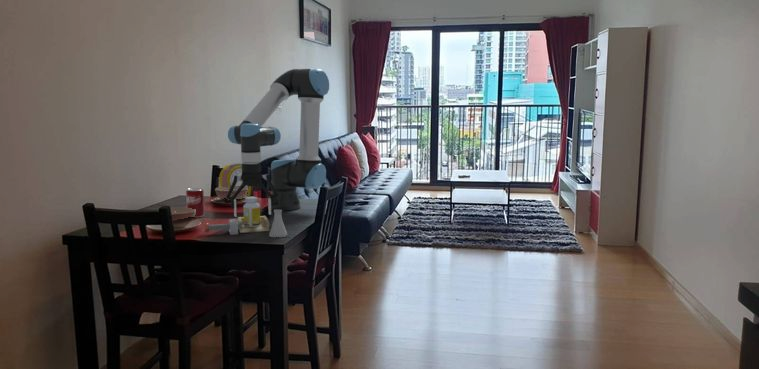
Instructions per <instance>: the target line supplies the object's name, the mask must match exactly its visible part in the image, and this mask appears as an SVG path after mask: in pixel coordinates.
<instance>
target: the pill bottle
mask: <svg viewBox="0 0 759 369" xmlns="http://www.w3.org/2000/svg"><path fill="white" fill-rule="evenodd" d="M244 201H245V204H243V206H242V207H243V208H242V210H243V217H244V226H246V227H257V226H260V216H261V204H260V203H259V202H258V197H257V196H250V197H246V198H245V199H244Z"/></svg>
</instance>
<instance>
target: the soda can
mask: <svg viewBox="0 0 759 369" xmlns="http://www.w3.org/2000/svg"><path fill="white" fill-rule="evenodd" d="M204 193H205V192H204V189H203V188H199V187H197V188H196V187H194V188H193V187H192V188H188V189H187V188H186V190H185V199H186V209H187V208H192V209H196V215H195V218H196V219H197V218H198V219H199V218H203V217H204V216H205V196H204V195H205V194H204ZM195 218H194V219H195Z"/></svg>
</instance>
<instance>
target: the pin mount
mask: <svg viewBox="0 0 759 369" xmlns="http://www.w3.org/2000/svg"><path fill="white" fill-rule="evenodd" d="M228 224H230V229H228V231H229V235H231V236H232V235H239V229H238V219H237V218H230V219H228Z"/></svg>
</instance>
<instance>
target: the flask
mask: <svg viewBox="0 0 759 369" xmlns="http://www.w3.org/2000/svg"><path fill="white" fill-rule="evenodd" d="M282 212H283V211H282V210H273V213H274V215H273V221H272V224H271V227H270V229H269V230H270V231H269V233H268V236H269V237H270V238H276V237H277V238H278V237H279V238H286V237H287V236H289V233H288V232H287V229H286V225H285V224H284V220H283V217H282ZM279 238H278V239H279Z"/></svg>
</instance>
